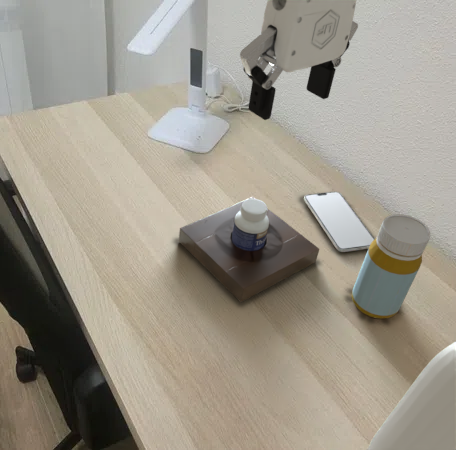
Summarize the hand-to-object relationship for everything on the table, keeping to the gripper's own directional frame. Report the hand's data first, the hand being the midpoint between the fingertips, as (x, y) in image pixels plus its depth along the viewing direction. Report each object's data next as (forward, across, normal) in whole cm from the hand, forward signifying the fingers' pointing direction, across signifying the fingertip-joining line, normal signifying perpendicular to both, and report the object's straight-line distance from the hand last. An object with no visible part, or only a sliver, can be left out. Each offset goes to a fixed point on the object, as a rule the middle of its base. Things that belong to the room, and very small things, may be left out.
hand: (288, 104), depth 67 cm
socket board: (+30, +3, +5) cm, 31 cm away
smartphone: (+30, +22, +2) cm, 37 cm away
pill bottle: (+31, +3, +5) cm, 31 cm away
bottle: (+31, +12, -14) cm, 36 cm away
